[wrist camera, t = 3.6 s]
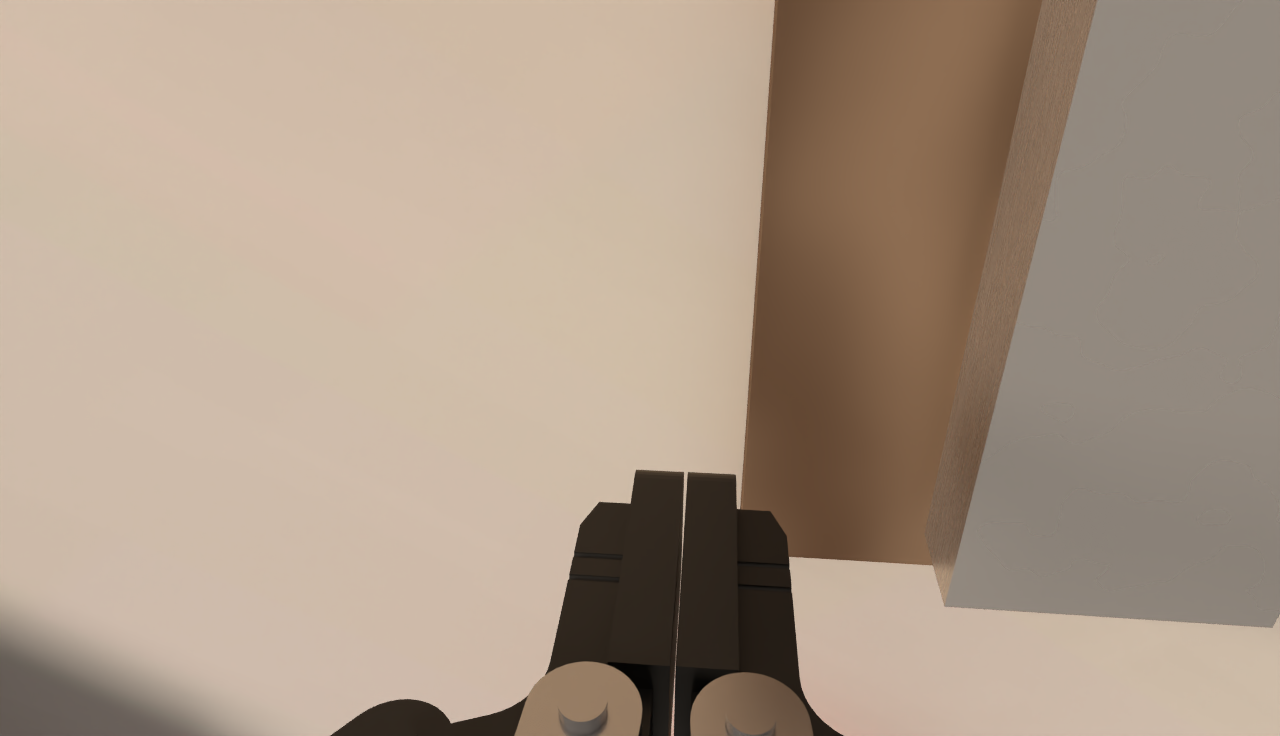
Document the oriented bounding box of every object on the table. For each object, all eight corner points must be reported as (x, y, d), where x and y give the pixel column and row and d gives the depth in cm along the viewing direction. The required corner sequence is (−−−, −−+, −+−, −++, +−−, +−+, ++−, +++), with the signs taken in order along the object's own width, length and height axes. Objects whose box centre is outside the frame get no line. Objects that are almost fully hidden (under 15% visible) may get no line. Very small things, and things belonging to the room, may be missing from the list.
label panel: (2482, -1490, 9) (2892, -1807, 7) (1328, 558, 23) (1372, 611, 21) (863, -1288, 10) (888, -1510, 8) (739, 524, 24) (739, 571, 23)
